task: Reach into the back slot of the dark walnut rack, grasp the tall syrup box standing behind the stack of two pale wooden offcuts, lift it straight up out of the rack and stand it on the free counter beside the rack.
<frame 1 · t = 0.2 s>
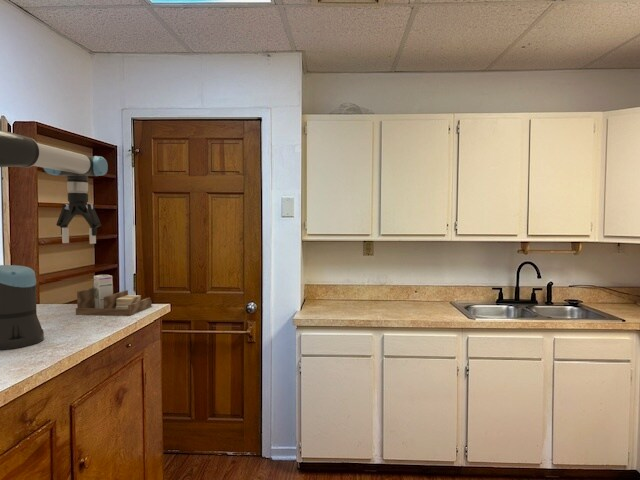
hand: (79, 243, 176), 27 cm above the worktop, fingers open, 13 cm apart
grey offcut: (128, 311, 173), on the worktop, touching birch offcut
syrup box: (104, 310, 174), on the worktop
walnut rack: (115, 310, 173), on the worktop
birch offcut: (128, 304, 173), point 3 cm above the worktop, touching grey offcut
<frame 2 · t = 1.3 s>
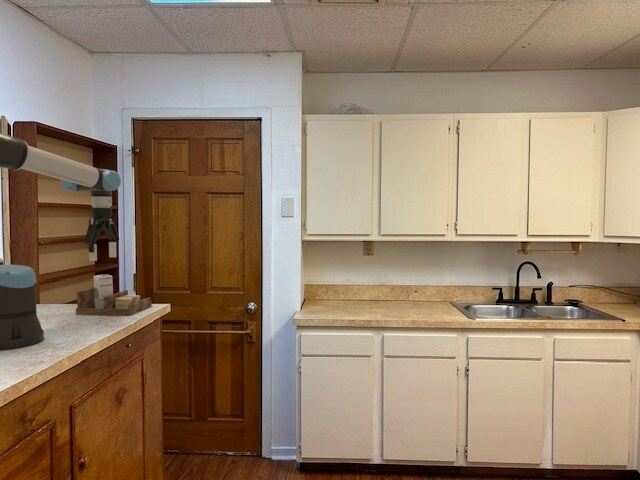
hand: (103, 258, 173), 21 cm above the worktop, fingers open, 13 cm apart
nothing on the worktop moved.
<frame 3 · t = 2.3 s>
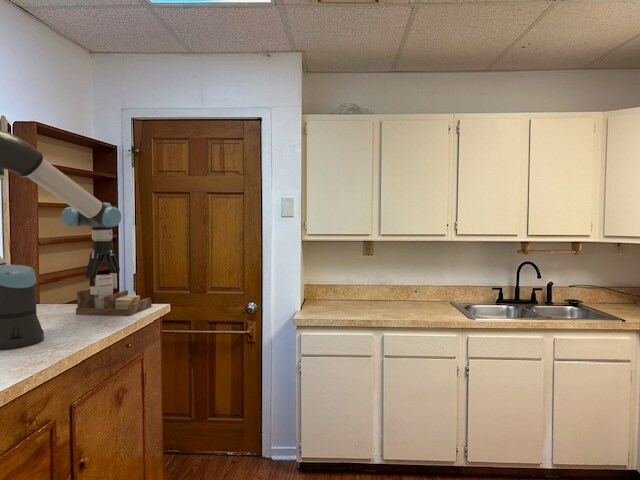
hand: (104, 291, 173), 8 cm above the worktop, fingers open, 13 cm apart
nothing on the worktop moved.
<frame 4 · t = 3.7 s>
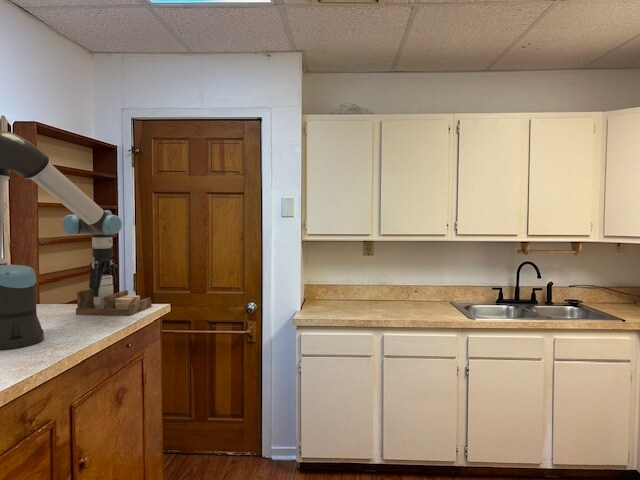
hand: (103, 302, 173), 3 cm above the worktop, fingers closed on syrup box, 8 cm apart
syrup box: (104, 310, 174), on the worktop, touching gripper
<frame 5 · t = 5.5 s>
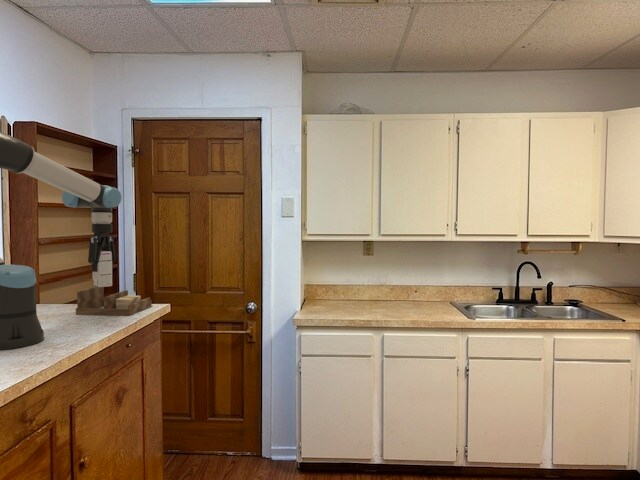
hand: (102, 278, 173), 13 cm above the worktop, fingers closed on syrup box, 8 cm apart
syrup box: (102, 286, 173), point 10 cm above the worktop, touching gripper
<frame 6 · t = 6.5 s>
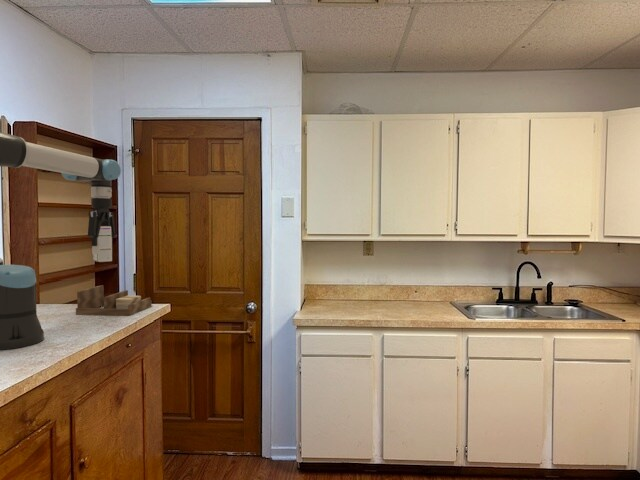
hand: (102, 253, 172), 24 cm above the worktop, fingers closed on syrup box, 8 cm apart
syrup box: (102, 261, 172), point 20 cm above the worktop, touching gripper
everything else where it was.
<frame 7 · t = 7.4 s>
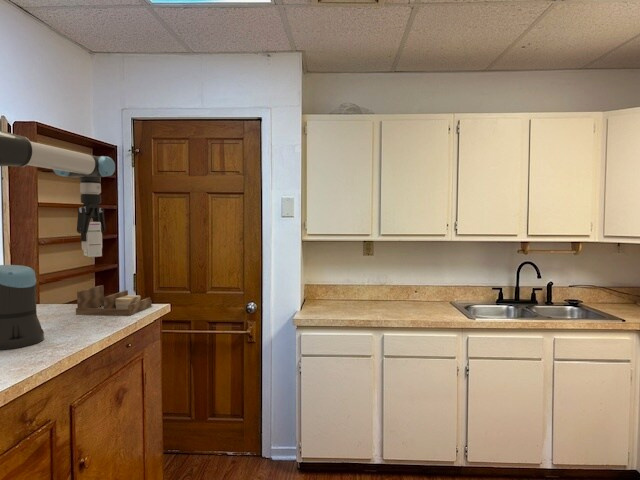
hand: (92, 248, 174), 25 cm above the worktop, fingers closed on syrup box, 8 cm apart
syrup box: (92, 256, 174), point 22 cm above the worktop, touching gripper
everything else where it was.
when the fingers open (5 cm above the worktop, at t = 11.8 s): syrup box drops 1 cm, on the worktop.
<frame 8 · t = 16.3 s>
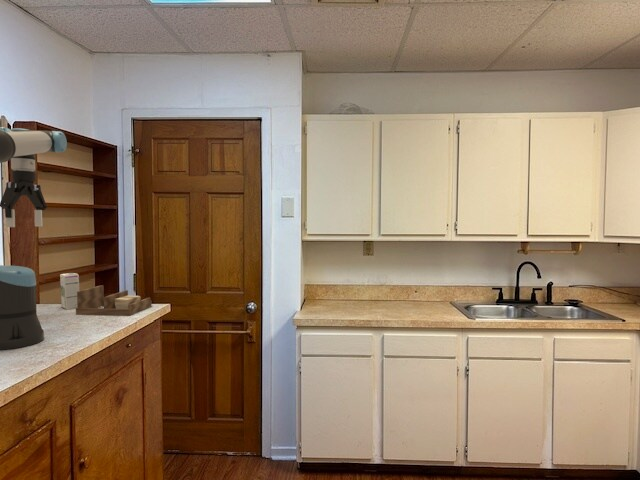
hand: (25, 226, 160), 35 cm above the worktop, fingers open, 13 cm apart
syrup box: (70, 308, 178), on the worktop
at the end: syrup box inside the target area (0.7 cm from its centre), on the worktop; syrup box tilted 0°; birch offcut moved 1.6 cm from its start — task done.
